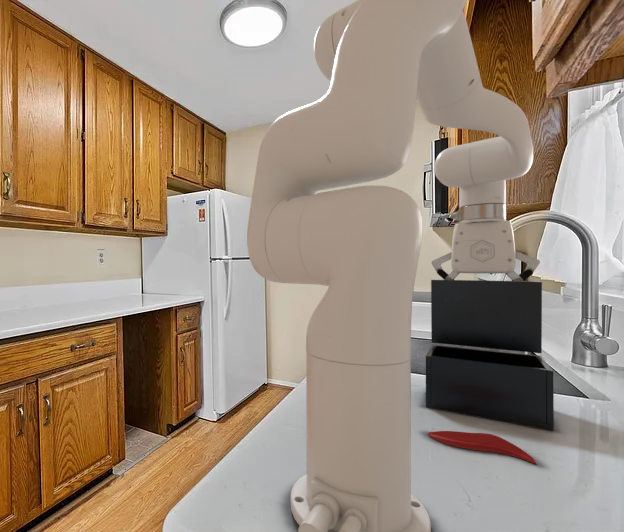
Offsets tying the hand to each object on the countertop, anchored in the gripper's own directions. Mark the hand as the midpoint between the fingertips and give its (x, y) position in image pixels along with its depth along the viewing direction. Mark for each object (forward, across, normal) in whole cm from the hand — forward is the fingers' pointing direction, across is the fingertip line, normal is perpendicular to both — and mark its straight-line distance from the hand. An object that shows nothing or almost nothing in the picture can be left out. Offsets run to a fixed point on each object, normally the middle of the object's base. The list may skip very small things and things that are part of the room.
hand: (482, 303), depth 73 cm
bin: (+17, 0, -10) cm, 20 cm away
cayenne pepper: (+17, -1, -28) cm, 33 cm away
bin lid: (+2, 0, -5) cm, 6 cm away
